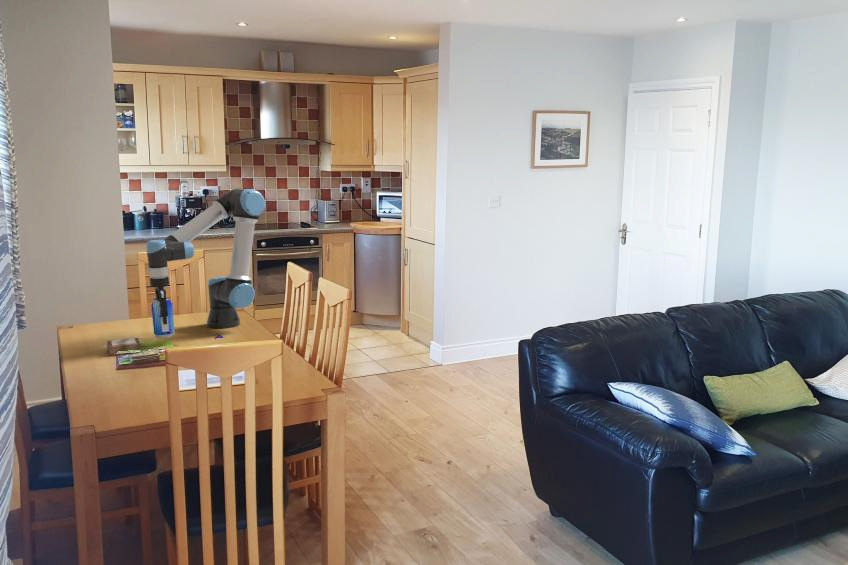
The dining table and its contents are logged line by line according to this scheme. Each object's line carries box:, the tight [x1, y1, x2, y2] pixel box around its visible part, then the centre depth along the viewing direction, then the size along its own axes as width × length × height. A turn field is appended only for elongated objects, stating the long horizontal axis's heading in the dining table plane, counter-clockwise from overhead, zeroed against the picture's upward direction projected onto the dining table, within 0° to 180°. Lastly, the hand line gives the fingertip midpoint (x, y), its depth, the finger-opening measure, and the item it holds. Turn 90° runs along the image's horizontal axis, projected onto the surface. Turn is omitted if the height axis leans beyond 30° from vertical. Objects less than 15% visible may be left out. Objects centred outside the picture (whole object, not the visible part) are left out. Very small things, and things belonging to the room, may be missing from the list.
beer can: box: [151, 297, 176, 339], centre depth 307 cm, size 8×8×16 cm
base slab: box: [106, 337, 142, 357], centre depth 298 cm, size 12×12×4 cm
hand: (164, 329), depth 308 cm, fingers closed on beer can, 8 cm apart
